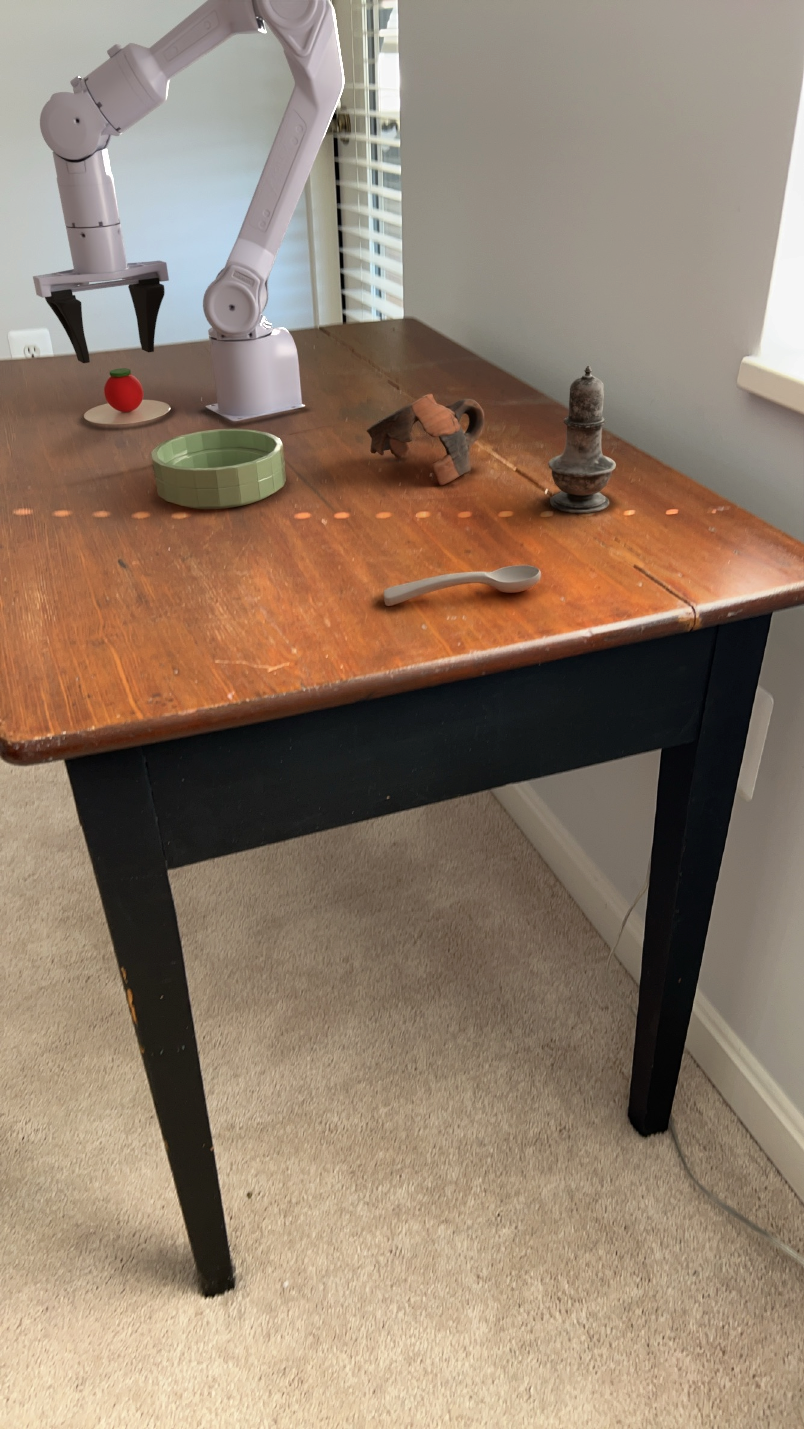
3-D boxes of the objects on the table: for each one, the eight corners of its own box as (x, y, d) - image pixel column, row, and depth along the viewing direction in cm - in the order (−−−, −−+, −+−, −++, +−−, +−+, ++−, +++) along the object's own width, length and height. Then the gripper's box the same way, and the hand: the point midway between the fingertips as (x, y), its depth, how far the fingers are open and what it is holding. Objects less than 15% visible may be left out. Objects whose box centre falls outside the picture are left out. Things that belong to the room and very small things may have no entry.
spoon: (546, 593, 75) (545, 568, 74) (388, 620, 74) (385, 595, 73) (535, 577, 78) (534, 553, 77) (383, 602, 77) (380, 578, 76)
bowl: (250, 459, 104) (246, 421, 102) (309, 492, 96) (305, 450, 93) (138, 485, 99) (131, 445, 97) (189, 522, 90) (183, 479, 88)
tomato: (137, 403, 122) (131, 364, 119) (152, 411, 118) (145, 371, 116) (102, 410, 120) (95, 370, 117) (116, 418, 116) (108, 377, 114)
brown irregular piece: (423, 500, 94) (380, 419, 92) (384, 514, 103) (344, 440, 101) (519, 442, 98) (480, 363, 96) (474, 460, 106) (437, 388, 104)
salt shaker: (540, 492, 93) (546, 359, 87) (603, 488, 94) (613, 355, 87) (554, 516, 88) (561, 376, 82) (620, 512, 89) (632, 372, 82)
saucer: (151, 399, 125) (150, 394, 125) (184, 417, 118) (183, 412, 118) (72, 414, 121) (71, 409, 120) (102, 434, 114) (101, 429, 113)
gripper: (143, 215, 114) (162, 340, 122) (14, 228, 108) (42, 359, 115) (167, 220, 109) (186, 350, 117) (34, 234, 103) (62, 371, 110)
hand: (116, 355), depth 115 cm, fingers open, 7 cm apart
